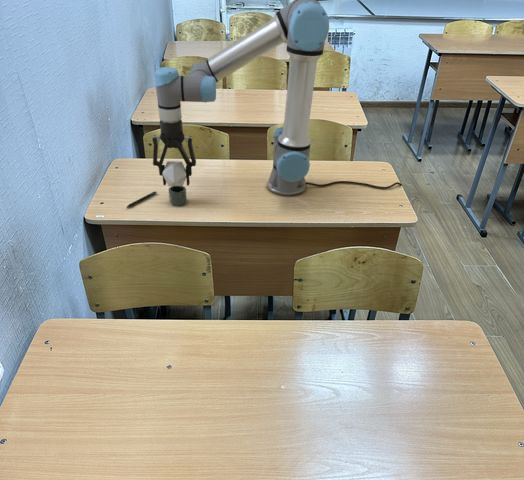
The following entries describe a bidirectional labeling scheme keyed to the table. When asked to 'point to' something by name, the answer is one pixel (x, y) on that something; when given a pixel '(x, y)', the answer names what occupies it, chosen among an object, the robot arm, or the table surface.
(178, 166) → the die
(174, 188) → the cup
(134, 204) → the pen
